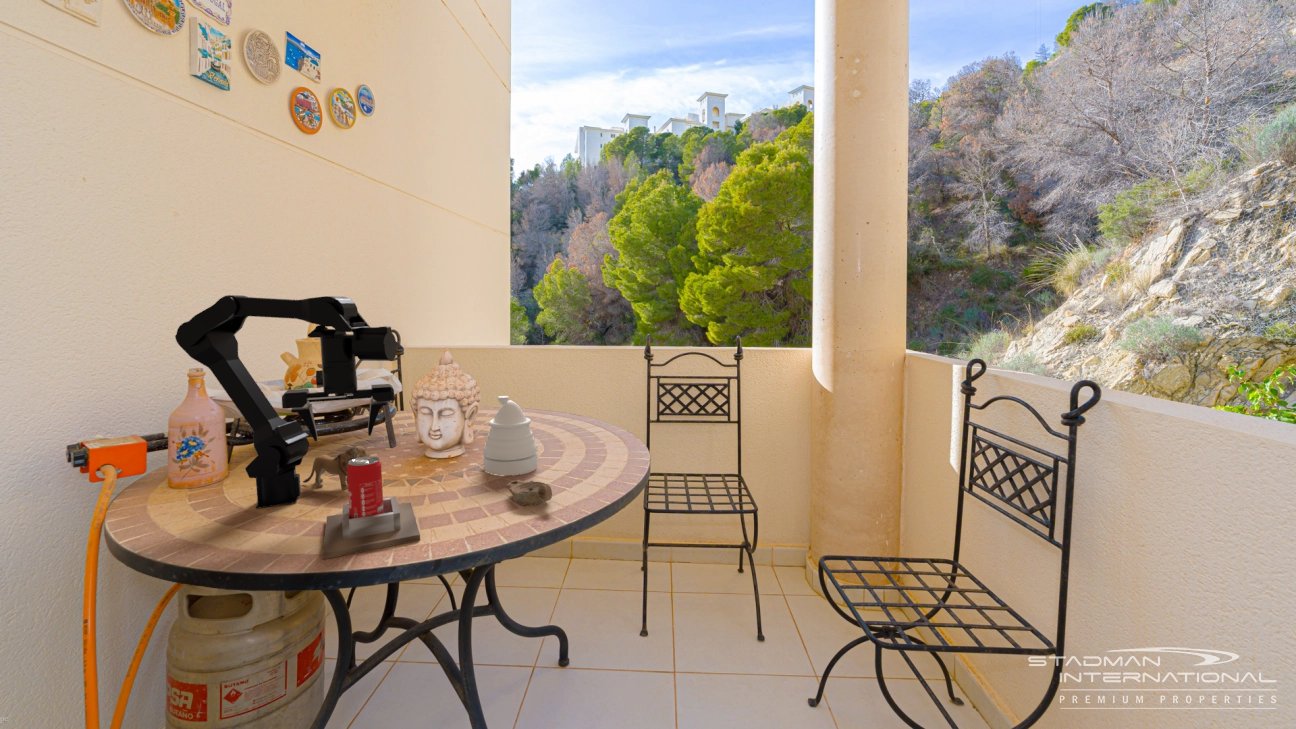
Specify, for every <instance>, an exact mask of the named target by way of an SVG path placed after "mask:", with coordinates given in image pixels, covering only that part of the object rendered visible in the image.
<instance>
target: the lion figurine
mask: <svg viewBox="0 0 1296 729" xmlns="http://www.w3.org/2000/svg"><path fill="white" fill-rule="evenodd" d="M361 457H370V453H368V452H366V449H365V448H364V447H363V446H362V445H356V446H353V447H351V448H349V449H347V450H345V451H343V452H341V453H339V454H338V455H337V456H336V457H332V456H330V455H327V454H319V455H317V456H316V457H315V458H314V460H313V465H312V469H311V473H310V475H309V476H308V478H306V479H304V480H303V481H302V483H304V484H305V483H308V482H310V481H311V480H312V478H313V477H314V474H315V478H314V479H315V480H314V481H315V488H317V489H320V488H322V487H324V486H323V484H322V482H323V481H324V479H323V478H321V477H322V475H324V473H326V472H327V473H328V474H330V475H334V476H339V481H340V488H341V491H348V479H347V466H348V465H349V464H348V462H349V461H351V460H353V459H356V458H361Z"/></svg>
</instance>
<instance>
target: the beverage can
mask: <svg viewBox="0 0 1296 729" xmlns="http://www.w3.org/2000/svg"><path fill="white" fill-rule="evenodd" d="M348 464H349V465H348V466H347V476H346V479H348V485H347V487H348V489H347V492H348V493H347V495H348V504H349V515H350V519H354V518H360V517H366V516H372V515H378V514H384V511H383V498H384V496H383V495H384V492H383V479H382V478H383V474H382V472H383V471H382V463H381V461H380V457H377V456H369V457H361V458H356V459H353V460H351V461H349V462H348Z"/></svg>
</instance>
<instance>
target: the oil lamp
mask: <svg viewBox="0 0 1296 729" xmlns="http://www.w3.org/2000/svg"><path fill="white" fill-rule="evenodd" d="M506 488H507V490H508V491H509V492H510V494H511V496H512V498H513V500H514V501H515V502H516V503H517V504H518V505H522V506H535V505H536V506H537V505H538V504H541V503H543V502H544V503H545V502H548V501H551V499H552V496H553V491H552V487H551V486H550V484H548V483H545V482H541V481H534V480H529V481H522V480H520V479H518V480H513V481H510V482H508V483H507V484H506Z"/></svg>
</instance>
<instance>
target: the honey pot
mask: <svg viewBox="0 0 1296 729" xmlns="http://www.w3.org/2000/svg"><path fill="white" fill-rule="evenodd" d="M497 399H498V402H499V403H500V404H501V406H500V407H499V409H498V410H497V412H496V413H495V417H494V418H492V419H491V420H489V421H488V426H489V427H490V429H489V432H488V433H487V438H486V440H485V445H484V446H483V471H484V470H485V471H487V472H489V473H492V474H497V475H496V476H498V475H512V476H519V474H520V475H525V474H528V473H531V472H533V471H534V470H536V469H537V468H538V466H539V464H538V462H539V460H538V445H537V442H536V441H535V440H536V439H535V437H534V433H533V430H531V428H530V427H531V426H530V425H531V423H532V419H531V418H529V417H526V415H525V413H524V411H523V410H522V408H521V407H520V405H519V404H518V403H516V402H515V401H513V400H511V399H510V396H509V395H499V396H497ZM509 399H510V400H509ZM485 471H484V472H485ZM524 473H525V474H524ZM492 474H491V475H492Z"/></svg>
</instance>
